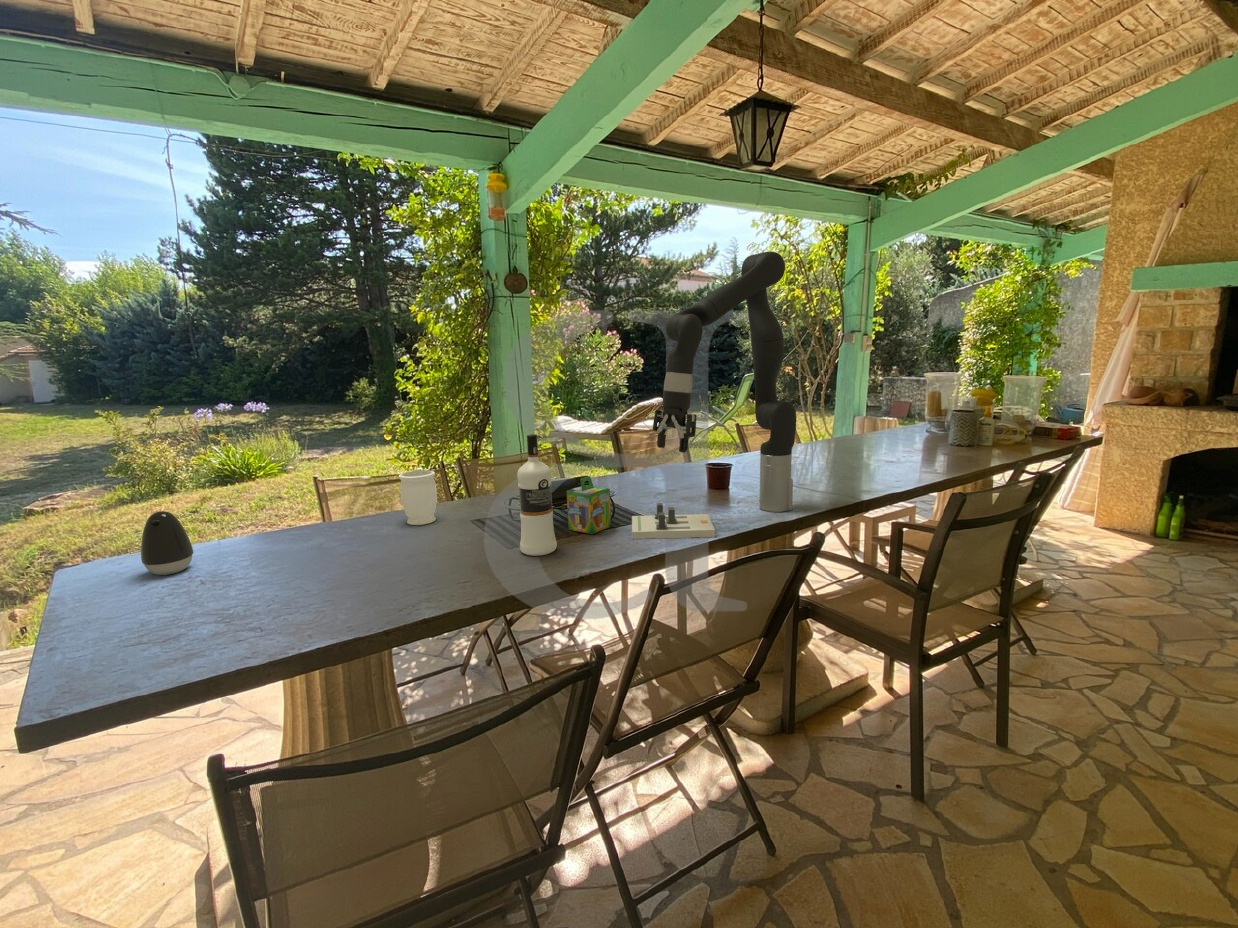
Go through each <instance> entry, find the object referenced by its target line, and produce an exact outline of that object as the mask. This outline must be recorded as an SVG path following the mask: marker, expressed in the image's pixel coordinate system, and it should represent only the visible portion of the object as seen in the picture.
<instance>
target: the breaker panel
mask: <svg viewBox="0 0 1238 928" xmlns="http://www.w3.org/2000/svg"><path fill="white" fill-rule="evenodd" d="M666 519H668V514H667V515H666V514H665V524H667V529H657V527H656V524H659V520H658V518H655V515H632V516H631V532H632V533H631V534H632V540H646V538H657V539H689V538H691V537H700V538H715V537H716V528H715V527H714V524H713V522H712V520H711V518H710V516H709V514H708V513H705V514H699V513H698V514H697V513H696V514H675V519H676V520H677V523H667V521H666Z"/></svg>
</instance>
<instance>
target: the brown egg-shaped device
mask: <svg viewBox="0 0 1238 928" xmlns="http://www.w3.org/2000/svg"><path fill="white" fill-rule="evenodd" d="M144 524H145V525H144V527H143V530H142V535H141V536H142V537H141V544H140V561H141V564H143V565H144V567H145V568H146V570H147V571H148V572H150V573H151V574H154V575H158V576H169V575H174V574H177V573H180V572H182V571H184V570H185V569H187V568H188V567H189V566H190V564H191V562H192V559H193V554H194V549H193V545H192V542H191V540H190V537H189V535H188V533H187V531H186V529H185V528H184V526H183V524H182V522H180V520H179V519H178V517H176V516H175V515H174V514H173V513H172V512H169V511H165V510H160V511H156V512H154V513H152V514H151V515H149V517H148V518H147V520H146V522H145V523H144Z"/></svg>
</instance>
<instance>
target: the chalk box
mask: <svg viewBox="0 0 1238 928" xmlns="http://www.w3.org/2000/svg"><path fill="white" fill-rule="evenodd" d="M579 482H580V486H578V487H574V488H573V487H572V488H571V489H567V490H566V505H567V507H566V508H567V509H566V510H567V524H568V525H567V527H568V530H569V531H574V532H580V533H584V534H588V535H594V534H596V533H599V532H601V531H604V530H606V529H609V528H611V527H612V516H611V515H612V513H611V512H612V511H611V510H612V508H611V488H607V487H601V486H597V485H593V481H592V477H591V476H590V475H589V476H585V477H581V478H580V479H579ZM585 482H588V484H586V485H585Z"/></svg>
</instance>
